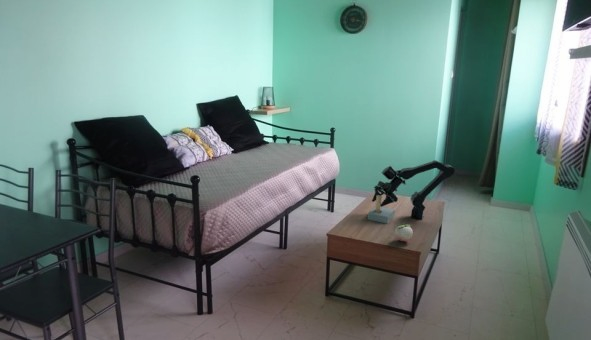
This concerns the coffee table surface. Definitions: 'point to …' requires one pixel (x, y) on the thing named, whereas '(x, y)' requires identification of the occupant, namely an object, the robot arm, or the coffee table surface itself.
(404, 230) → the decorative fruit
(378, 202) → the pin
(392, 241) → the coffee table surface
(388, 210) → the hole block
